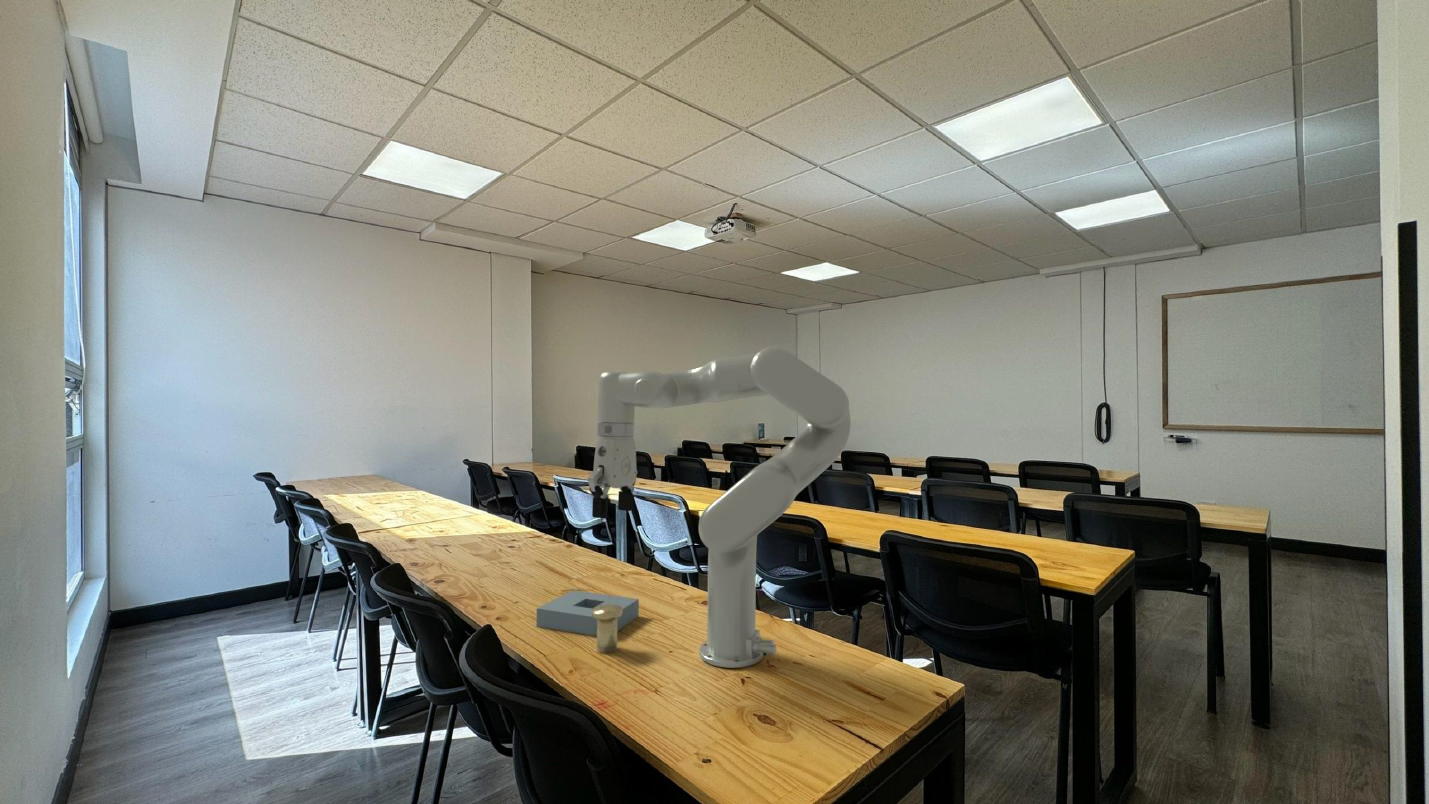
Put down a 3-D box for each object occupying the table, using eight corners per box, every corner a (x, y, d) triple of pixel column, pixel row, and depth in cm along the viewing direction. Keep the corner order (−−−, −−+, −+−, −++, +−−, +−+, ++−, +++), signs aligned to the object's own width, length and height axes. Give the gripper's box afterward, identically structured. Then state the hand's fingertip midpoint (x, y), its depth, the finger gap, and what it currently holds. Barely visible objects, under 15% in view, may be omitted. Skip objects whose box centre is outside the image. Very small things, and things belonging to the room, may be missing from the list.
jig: (638, 616, 134) (638, 598, 134) (607, 638, 121) (607, 619, 121) (573, 606, 141) (573, 590, 141) (536, 626, 128) (536, 608, 128)
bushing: (627, 645, 117) (627, 606, 117) (612, 657, 112) (612, 616, 112) (602, 641, 119) (602, 603, 119) (585, 652, 114) (586, 612, 114)
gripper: (608, 433, 110) (605, 523, 110) (651, 431, 126) (648, 509, 126) (575, 431, 113) (572, 519, 113) (621, 429, 129) (619, 506, 129)
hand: (612, 513), depth 119 cm, fingers open, 9 cm apart
